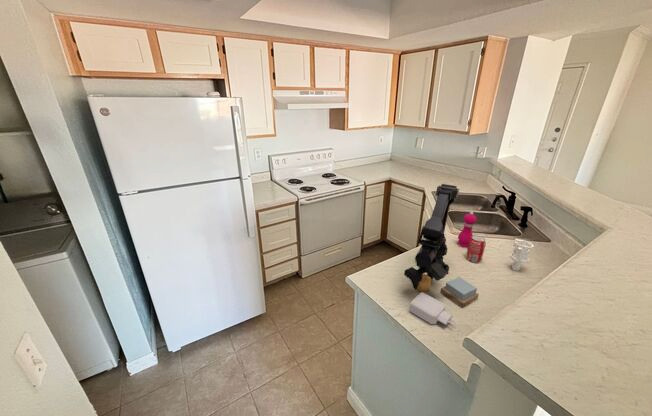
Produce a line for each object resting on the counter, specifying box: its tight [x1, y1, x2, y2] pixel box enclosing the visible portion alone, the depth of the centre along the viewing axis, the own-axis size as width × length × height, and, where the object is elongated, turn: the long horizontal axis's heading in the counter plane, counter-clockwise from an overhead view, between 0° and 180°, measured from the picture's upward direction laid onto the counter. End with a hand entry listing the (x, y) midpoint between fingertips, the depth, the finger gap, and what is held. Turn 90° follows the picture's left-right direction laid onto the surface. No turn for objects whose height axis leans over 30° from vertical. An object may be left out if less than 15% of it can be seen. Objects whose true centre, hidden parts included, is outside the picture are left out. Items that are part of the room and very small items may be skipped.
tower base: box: [439, 286, 479, 309], centre depth 108 cm, size 10×10×3 cm
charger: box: [408, 292, 457, 326], centre depth 97 cm, size 5×9×15 cm
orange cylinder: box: [415, 273, 432, 294], centre depth 112 cm, size 6×6×5 cm
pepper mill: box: [457, 211, 477, 249], centre depth 143 cm, size 7×7×20 cm
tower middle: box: [444, 276, 478, 301], centre depth 107 cm, size 8×8×3 cm
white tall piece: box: [509, 238, 534, 272], centre depth 124 cm, size 7×7×15 cm
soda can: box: [465, 235, 487, 263], centre depth 131 cm, size 7×7×12 cm
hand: (422, 285), depth 112 cm, fingers open, 8 cm apart
